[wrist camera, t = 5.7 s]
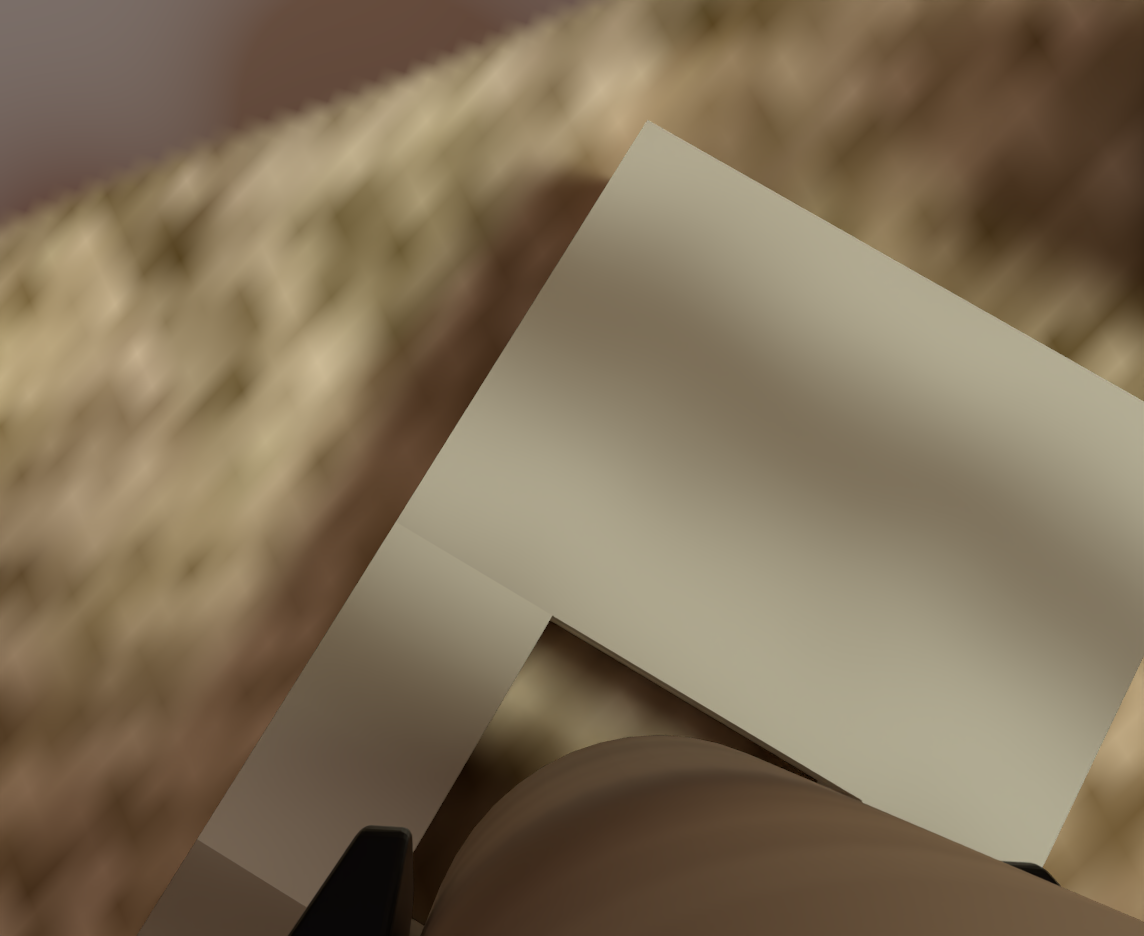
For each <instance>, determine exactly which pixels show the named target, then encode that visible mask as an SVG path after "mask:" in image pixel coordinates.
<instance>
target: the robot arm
mask: <svg viewBox="0 0 1144 936" xmlns="http://www.w3.org/2000/svg"><path fill="white" fill-rule="evenodd" d="M1002 862H1004V863H1006V864H1009V865H1011V866H1013V867H1016V868H1018V869H1020V870H1023V871H1025V872H1028V873H1030V874H1032V875H1035V876H1037V877H1039V878H1042V879H1044V880H1046V881H1049V882H1051V883H1053V884H1056V885H1058V886H1060V884H1059V883H1058V882H1057V881H1056V880H1055V879H1054V878H1053V877H1052V876H1051V874H1050V873H1049V872H1048V871H1046V870H1045V869H1044V868H1042V867H1041V866H1039V865H1037V864H1034V863H1030V862H1014V861H1002ZM1060 887H1061V886H1060ZM413 893H414V880H413V842H412V834H411V832H410V830H409V829H408V828H405V827H395V826H377V825H368V826H366V827H363V828H362V829H361V830H360V831H359V832H358V833H357V834H356V836H355V837H354V838H353V840H352V841H351V843H350V844H349V846H348V847H347V849H346V850H345V852H344V853H343V854H342V856H341V857H340V859H339V860H338V862H337V863H336V865H335V866H334V868H333V869H332V871H331V872H330V874H329V875H328V877H327V878H326V880H325V881H324V883H323V884H322V885H321V887H320V888H319V890H318V891H317V893H316V894H315V896H314V897H313V899H312V900H311V902H310V903H309V905H308V906H307V908H306V909H305V911H304V912H303V914H302V915H301V917H300V918H299V919H298V921H297V922H296V924H295V925H294V927H293V928H292V930H291V931H290V933H289V934H288V936H409V934H410V926H411V917H412V908H413Z"/></svg>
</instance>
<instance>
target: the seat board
mask: <svg viewBox="0 0 1144 936" xmlns="http://www.w3.org/2000/svg"><path fill="white" fill-rule="evenodd" d="M549 621H552V622H553V623H555V624H557V625H558V626H560V627H562V628H563V629H565V630H567V631H568V632H570V633H572V634H573V635H575V636H577V637H578V638H580V639H582V640H583V641H585V642H587V643H588V644H590V645H592V646H593V647H595V648H597V649H598V650H600V651H602V652H603V653H605V654H607V655H608V656H610V657H612V658H613V659H615V660H617V661H619V662H620V663H622V664H624V665H625V666H627V667H629V668H630V669H632V670H634V671H635V672H637V673H639V674H640V675H642V676H644V677H645V678H647V679H649V680H650V681H652V682H654V683H655V684H657V685H659V686H660V687H662V688H664V689H665V690H667V691H669V692H670V693H672V694H674V695H675V696H677V697H679V698H680V699H682V700H684V701H685V702H687V703H689V704H690V705H692V706H694V707H695V708H697V709H699V710H700V711H702V712H704V713H705V714H707V715H709V716H711V717H712V718H714V719H716V720H717V721H719V722H721V723H722V724H724V725H726V726H727V727H729V728H731V729H732V730H734V731H736V732H737V733H739V734H741V735H742V736H744V737H746V738H747V739H749V740H751V741H752V742H754V743H756V744H757V745H759V746H761V747H762V748H764V749H766V750H767V751H769V752H771V753H772V754H774V755H776V756H777V757H779V758H781V759H782V760H784V761H786V762H787V763H789V764H791V765H792V766H794V767H796V768H798V769H799V770H801V771H803V772H804V773H806V774H808V775H809V776H811V777H813V778H814V779H816V780H818V781H817V783H818V784H820V785H822V786H825V787H827V788H830V789H832V790H834V791H837V792H839V793H841V794H844V795H846V796H848V797H851V798H853V799H855V800H858V801H860V802H863V803H865V804H867V805H870V806H872V807H874V808H877V809H879V810H881V811H884V812H886V813H888V814H891V815H893V816H896V817H898V818H900V819H903V820H905V821H907V822H910V823H912V824H914V825H917V826H919V827H921V828H924V829H926V830H929V831H931V832H933V833H936V834H938V835H940V836H943V837H945V838H947V839H950V840H952V841H954V842H957V843H959V844H962V845H964V846H966V847H969V848H971V849H973V850H976V851H978V852H980V853H983V854H985V855H987V856H990V857H992V858H995V859H997V860H999V861H1014V862H1030V863H1034V864H1037V865H1039V866H1041V867H1043V865H1044V863H1045V861H1046V859H1047V857H1048V855H1049V853H1050V851H1051V849H1052V847H1053V844H1054V842H1055V840H1056V838H1057V836H1058V834H1059V832H1060V830H1061V828H1062V826H1063V824H1064V821H1065V819H1066V817H1067V815H1068V813H1069V811H1070V809H1071V807H1072V805H1073V803H1074V801H1075V799H1076V796H1077V794H1078V792H1079V790H1080V788H1081V786H1082V784H1083V782H1084V780H1085V778H1086V776H1087V773H1088V771H1089V769H1090V767H1091V765H1092V763H1093V761H1094V759H1095V757H1096V755H1097V753H1098V751H1099V748H1100V746H1101V744H1102V742H1103V740H1104V738H1105V736H1106V734H1107V732H1108V730H1109V728H1110V725H1111V723H1112V721H1113V719H1114V717H1115V715H1116V713H1117V711H1118V709H1119V707H1120V705H1121V703H1122V700H1123V698H1124V696H1125V694H1126V692H1127V690H1128V688H1129V686H1130V684H1131V682H1132V680H1133V678H1134V675H1135V673H1136V671H1137V669H1138V667H1139V665H1140V663H1141V661H1142V659H1143V657H1144V401H1142V400H1140V399H1139V398H1137V397H1135V396H1133V395H1131V394H1130V393H1128V392H1126V391H1124V390H1123V389H1121V388H1119V387H1117V386H1116V385H1114V384H1112V383H1110V382H1109V381H1107V380H1105V379H1103V378H1102V377H1100V376H1098V375H1096V374H1094V373H1093V372H1091V371H1089V370H1087V369H1086V368H1084V367H1082V366H1080V365H1079V364H1077V363H1075V362H1073V361H1072V360H1070V359H1068V358H1066V357H1065V356H1063V355H1061V354H1059V353H1057V352H1056V351H1054V350H1052V349H1050V348H1049V347H1047V346H1045V345H1043V344H1042V343H1040V342H1038V341H1036V340H1035V339H1033V338H1031V337H1029V336H1028V335H1026V334H1024V333H1022V332H1020V331H1019V330H1017V329H1015V328H1013V327H1012V326H1010V325H1008V324H1006V323H1005V322H1003V321H1001V320H999V319H998V318H996V317H994V316H992V315H990V314H989V313H987V312H985V311H983V310H982V309H980V308H978V307H976V306H975V305H973V304H971V303H969V302H968V301H966V300H964V299H962V298H961V297H959V296H957V295H955V294H953V293H952V292H950V291H948V290H946V289H945V288H943V287H941V286H939V285H938V284H936V283H934V282H932V281H931V280H929V279H927V278H925V277H924V276H922V275H920V274H918V273H916V272H915V271H913V270H911V269H909V268H908V267H906V266H904V265H902V264H901V263H899V262H897V261H895V260H894V259H892V258H890V257H888V256H887V255H885V254H883V253H881V252H879V251H878V250H876V249H874V248H872V247H871V246H869V245H867V244H865V243H864V242H862V241H860V240H858V239H857V238H855V237H853V236H851V235H849V234H848V233H846V232H844V231H842V230H841V229H839V228H837V227H835V226H834V225H832V224H830V223H828V222H827V221H825V220H823V219H821V218H820V217H818V216H816V215H814V214H812V213H811V212H809V211H807V210H805V209H804V208H802V207H800V206H798V205H797V204H795V203H793V202H791V201H790V200H788V199H786V198H784V197H783V196H781V195H779V194H777V193H775V192H774V191H772V190H770V189H768V188H767V187H765V186H763V185H761V184H760V183H758V182H756V181H754V180H753V179H751V178H749V177H747V176H746V175H744V174H742V173H740V172H738V171H737V170H735V169H733V168H731V167H730V166H728V165H726V164H724V163H723V162H721V161H719V160H717V159H716V158H714V157H712V156H710V155H708V154H707V153H705V152H703V151H701V150H700V149H698V148H696V147H694V146H693V145H691V144H689V143H687V142H686V141H684V140H682V139H680V138H679V137H677V136H675V135H673V134H671V133H670V132H668V131H666V130H664V129H663V128H661V127H659V126H657V125H656V124H654V123H652V122H650V121H649V120H647V122H646V123H645V125H644V126H643V128H642V130H641V131H640V133H639V134H638V136H637V138H636V139H635V141H634V142H633V144H632V146H631V147H630V149H629V150H628V152H627V154H626V155H625V157H624V158H623V160H622V161H621V163H620V165H619V166H618V168H617V169H616V171H615V173H614V174H613V176H612V177H611V179H610V181H609V182H608V184H607V185H606V187H605V189H604V190H603V192H602V193H601V195H600V197H599V198H598V200H597V201H596V203H595V205H594V206H593V208H592V209H591V211H590V213H589V214H588V216H587V217H586V219H585V221H584V222H583V224H582V225H581V227H580V229H579V230H578V232H577V233H576V235H575V237H574V238H573V240H572V241H571V243H570V245H569V246H568V248H567V249H566V251H565V253H564V254H563V256H562V257H561V259H560V261H559V262H558V264H557V265H556V267H555V268H554V270H553V272H552V273H551V275H550V276H549V278H548V280H547V281H546V283H545V284H544V286H543V288H542V289H541V291H540V292H539V294H538V296H537V297H536V299H535V300H534V302H533V304H532V305H531V307H530V308H529V310H528V312H527V313H526V315H525V316H524V318H523V320H522V321H521V323H520V324H519V326H518V328H517V329H516V331H515V332H514V334H513V336H512V337H511V339H510V340H509V342H508V344H507V345H506V347H505V348H504V350H503V352H502V353H501V355H500V356H499V358H498V360H497V361H496V363H495V364H494V366H493V368H492V369H491V371H490V372H489V374H488V375H487V377H486V379H485V380H484V382H483V383H482V385H481V387H480V388H479V390H478V391H477V393H476V395H475V396H474V398H473V399H472V401H471V403H470V404H469V406H468V407H467V409H466V411H465V412H464V414H463V415H462V417H461V419H460V420H459V422H458V423H457V425H456V427H455V428H454V430H453V431H452V433H451V435H450V436H449V438H448V439H447V441H446V443H445V444H444V446H443V447H442V449H441V451H440V452H439V454H438V455H437V457H436V459H435V460H434V462H433V463H432V465H431V467H430V468H429V470H428V471H427V473H426V475H425V476H424V478H423V479H422V481H421V483H420V484H419V486H418V487H417V489H416V490H415V492H414V494H413V495H412V497H411V498H410V500H409V502H408V503H407V505H406V506H405V508H404V510H403V511H402V513H401V514H400V516H399V518H398V519H397V521H396V522H395V524H394V526H393V527H392V529H391V530H390V532H389V534H388V535H387V537H386V538H385V540H384V542H383V543H382V545H381V546H380V548H379V550H378V551H377V553H376V554H375V556H374V558H373V559H372V561H371V562H370V564H369V566H368V567H367V569H366V570H365V572H364V574H363V575H362V577H361V578H360V580H359V582H358V583H357V585H356V586H355V588H354V590H353V591H352V593H351V594H350V596H349V597H348V599H347V601H346V602H345V604H344V605H343V607H342V609H341V610H340V612H339V613H338V615H337V617H336V618H335V620H334V621H333V623H332V625H331V626H330V628H329V629H328V631H327V633H326V634H325V636H324V637H323V639H322V641H321V642H320V644H319V645H318V647H317V649H316V650H315V652H314V653H313V655H312V657H311V658H310V660H309V661H308V663H307V665H306V666H305V668H304V669H303V671H302V673H301V674H300V676H299V677H298V679H297V681H296V682H295V684H294V685H293V687H292V689H291V690H290V692H289V693H288V695H287V697H286V698H285V700H284V701H283V703H282V704H281V706H280V708H279V709H278V711H277V712H276V714H275V716H274V717H273V719H272V720H271V722H270V724H269V725H268V727H267V728H266V730H265V732H264V733H263V735H262V736H261V738H260V740H259V741H258V743H257V744H256V746H255V748H254V749H253V751H252V752H251V754H250V756H249V757H248V759H247V760H246V762H245V764H244V765H243V767H242V768H241V770H240V772H239V773H238V775H237V776H236V778H235V780H234V781H233V783H232V784H231V786H230V788H229V789H228V791H227V792H226V794H225V796H224V797H223V799H222V800H221V802H220V804H219V805H218V807H217V808H216V810H215V811H214V813H213V815H212V816H211V818H210V819H209V821H208V823H207V824H206V826H205V827H204V829H203V831H202V832H201V834H200V835H199V837H198V839H197V840H196V842H195V843H194V845H193V847H192V848H191V850H190V851H189V853H188V855H187V856H186V858H185V859H184V861H183V863H182V864H181V866H180V867H179V869H178V871H177V872H176V874H175V875H174V877H173V879H172V880H171V882H170V883H169V885H168V887H167V888H166V890H165V891H164V893H163V895H162V896H161V898H160V899H159V901H158V903H157V904H156V906H155V907H154V909H153V911H152V912H151V914H150V915H149V917H148V919H147V920H146V922H145V923H144V925H143V926H142V928H141V930H140V931H139V933H138V934H137V936H288V934H289V933H290V931H291V930H292V928H293V927H294V925H295V924H296V922H297V921H298V919H299V918H300V917H301V915H302V914H303V912H304V911H305V909H306V908H307V906H308V905H309V903H310V902H311V900H312V899H313V897H314V896H315V894H316V893H317V891H318V890H319V888H320V887H321V885H322V884H323V883H324V881H325V880H326V878H327V877H328V875H329V874H330V872H331V871H332V869H333V868H334V866H335V865H336V863H337V862H338V860H339V859H340V857H341V856H342V854H343V853H344V852H345V850H346V849H347V847H348V846H349V844H350V843H351V841H352V840H353V838H354V837H355V836H356V834H357V833H358V832H359V831H360V830H361V829H362V828H363V827H366V826H368V825H377V826H395V827H405V828H408V829H409V830H410V832H411V834H412V842H413V852H414V850H415V849H416V847H417V845H418V843H419V842H420V840H421V838H422V837H423V835H424V833H425V832H426V830H427V828H428V826H429V825H430V823H431V821H432V820H433V818H434V816H435V815H436V813H437V811H438V809H439V808H440V806H441V804H442V803H443V801H444V799H445V798H446V796H447V794H448V792H449V791H450V789H451V787H452V786H453V784H454V782H455V781H456V779H457V777H458V775H459V774H460V772H461V770H462V769H463V767H464V765H465V763H466V762H467V760H468V758H469V757H470V755H471V753H472V752H473V750H474V748H475V746H476V745H477V743H478V741H479V740H480V738H481V736H482V735H483V733H484V731H485V729H486V728H487V726H488V724H489V723H490V721H491V719H492V718H493V716H494V714H495V712H496V711H497V709H498V707H499V706H500V704H501V702H502V701H503V699H504V697H505V695H506V694H507V692H508V690H509V689H510V687H511V685H512V684H513V682H514V680H515V678H516V677H517V675H518V673H519V672H520V670H521V668H522V667H523V665H524V663H525V661H526V660H527V658H528V656H529V655H530V653H531V651H532V650H533V648H534V646H535V644H536V643H537V641H538V639H539V638H540V636H541V634H542V633H543V631H544V629H545V627H546V626H547V624H548V622H549ZM423 928H424V926H423V925H422V924H420V923H419V922H417V921H415V920H414V919H412V918H411V926H410V934H409V936H420V935H421V933H422V930H423Z"/></svg>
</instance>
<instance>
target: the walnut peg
mask: <svg viewBox="0 0 1144 936" xmlns="http://www.w3.org/2000/svg"><path fill="white" fill-rule="evenodd" d="M420 936H1144V922H1143V921H1141V920H1138V919H1136V918H1134V917H1131V916H1129V915H1126V914H1124V913H1122V912H1119V911H1117V910H1115V909H1112V908H1110V907H1108V906H1105V905H1103V904H1101V903H1098V902H1096V901H1093V900H1091V899H1089V898H1086V897H1084V896H1082V895H1079V894H1077V893H1075V892H1072V891H1070V890H1068V889H1065V888H1063V887H1060V886H1058V885H1056V884H1053V883H1051V882H1049V881H1046V880H1044V879H1042V878H1039V877H1037V876H1035V875H1032V874H1030V873H1028V872H1025V871H1023V870H1020V869H1018V868H1016V867H1013V866H1011V865H1009V864H1006V863H1004V862H1002V861H999V860H997V859H995V858H992V857H990V856H987V855H985V854H983V853H980V852H978V851H976V850H973V849H971V848H969V847H966V846H964V845H962V844H959V843H957V842H954V841H952V840H950V839H947V838H945V837H943V836H940V835H938V834H936V833H933V832H931V831H929V830H926V829H924V828H921V827H919V826H917V825H914V824H912V823H910V822H907V821H905V820H903V819H900V818H898V817H896V816H893V815H891V814H888V813H886V812H884V811H881V810H879V809H877V808H874V807H872V806H870V805H867V804H865V803H863V802H860V801H858V800H855V799H853V798H851V797H848V796H846V795H844V794H841V793H839V792H837V791H834V790H832V789H830V788H827V787H825V786H822V785H820V784H818V783H815V782H813V781H811V780H808V779H806V778H804V777H801V776H799V775H797V774H794V773H792V772H789V771H787V770H785V769H782V768H780V767H778V766H775V765H773V764H771V763H768V762H766V761H764V760H761V759H759V758H756V757H754V756H752V755H749V754H747V753H744V752H741V751H738V750H736V749H733V748H730V747H727V746H724V745H722V744H719V743H714V742H709V741H704V740H700V739H695V738H690V737H678V736H664V735H653V736H637V737H627V738H622V739H617V740H612V741H607V742H602V743H598V744H595V745H592V746H589V747H586V748H583V749H580V750H578V751H575V752H572V753H569V754H567V755H565V756H563V757H561V758H559V759H557V760H555V761H553V762H551V763H549V764H547V765H546V766H544V767H542V768H541V769H539V770H538V771H536V772H535V773H533V774H532V775H530V776H529V777H527V778H526V779H524V780H523V781H521V782H520V783H518V784H517V785H516V786H515V787H514V788H513V789H512V790H510V791H509V792H508V793H507V794H506V795H505V796H504V797H503V798H501V799H500V800H499V801H498V802H497V803H496V804H495V805H494V806H493V807H492V808H491V809H490V810H489V811H488V813H487V814H486V815H485V816H484V817H483V818H482V820H481V821H480V822H479V823H478V824H477V825H476V826H475V828H474V829H473V830H472V832H471V833H470V835H469V836H468V838H467V839H466V841H465V842H464V844H463V845H462V847H461V848H460V850H459V851H458V853H457V854H456V856H455V858H454V860H453V862H452V864H451V866H450V868H449V870H448V872H447V874H446V876H445V878H444V880H443V882H442V884H441V886H440V888H439V891H438V893H437V896H436V898H435V901H434V903H433V906H432V908H431V911H430V913H429V915H428V918H427V920H426V923H425V925H424V928H423V930H422V933H421V935H420Z"/></svg>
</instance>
